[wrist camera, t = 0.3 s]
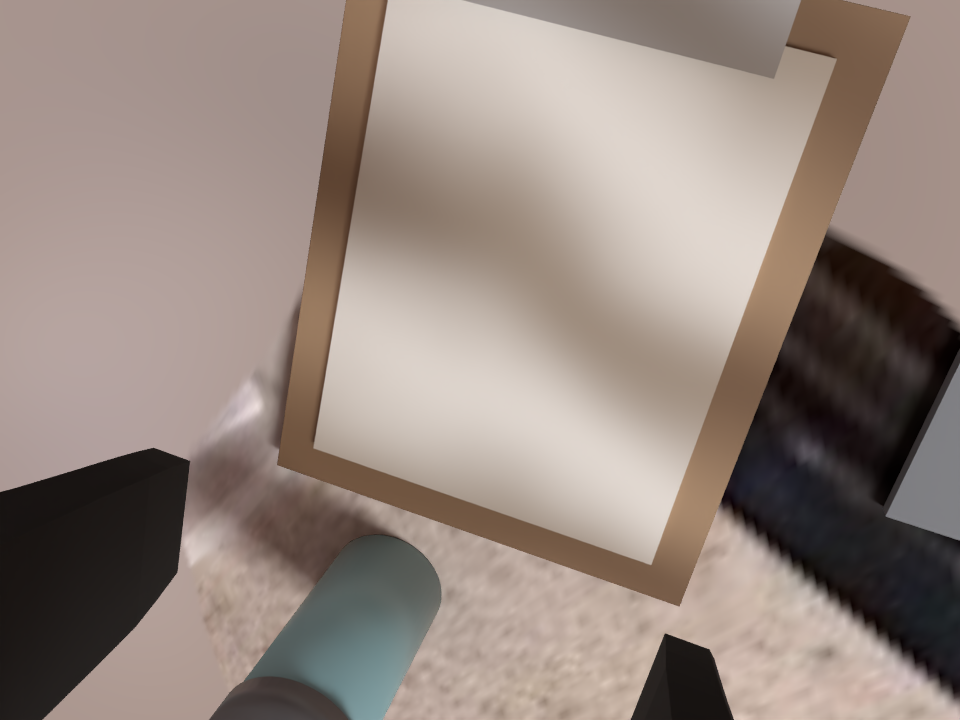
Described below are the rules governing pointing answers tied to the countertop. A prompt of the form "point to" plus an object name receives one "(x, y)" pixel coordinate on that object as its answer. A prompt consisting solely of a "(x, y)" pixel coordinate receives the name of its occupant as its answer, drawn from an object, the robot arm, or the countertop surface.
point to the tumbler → (345, 639)
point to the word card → (933, 467)
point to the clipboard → (569, 258)
